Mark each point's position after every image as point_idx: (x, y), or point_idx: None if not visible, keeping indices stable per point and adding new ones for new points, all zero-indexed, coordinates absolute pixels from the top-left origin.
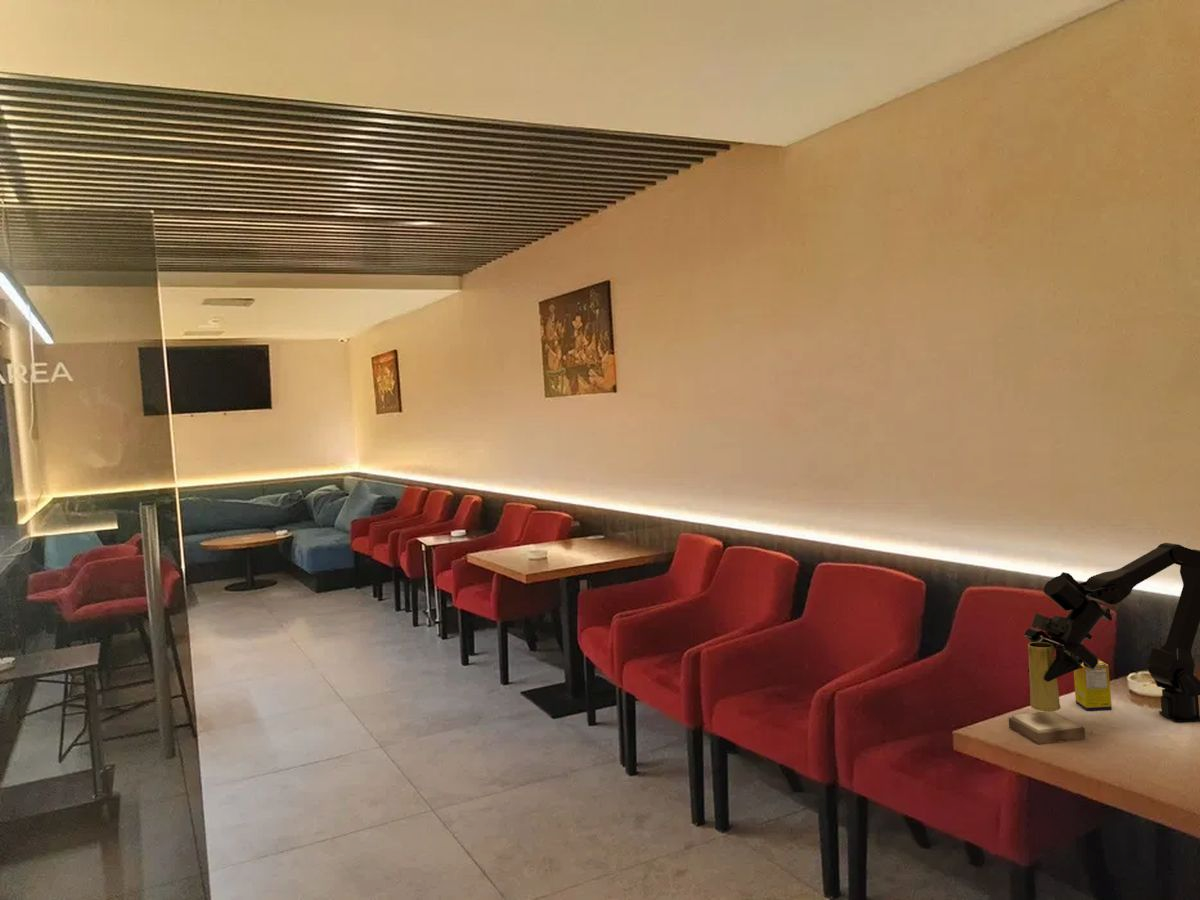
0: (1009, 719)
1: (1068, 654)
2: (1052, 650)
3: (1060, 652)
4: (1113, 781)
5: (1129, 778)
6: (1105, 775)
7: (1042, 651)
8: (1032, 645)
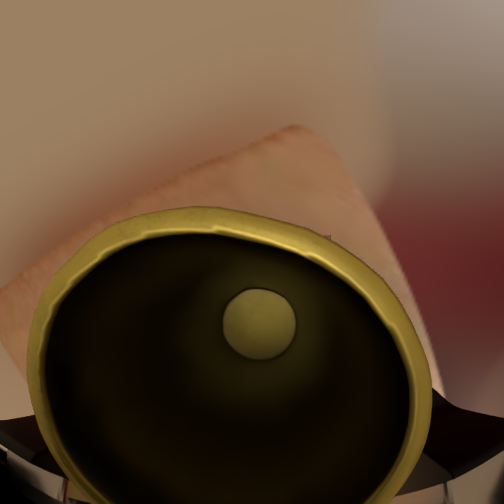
0: (324, 236)
1: (11, 452)
2: (110, 469)
3: (3, 424)
4: (30, 277)
5: (33, 308)
6: (45, 281)
7: (68, 333)
8: (397, 377)
